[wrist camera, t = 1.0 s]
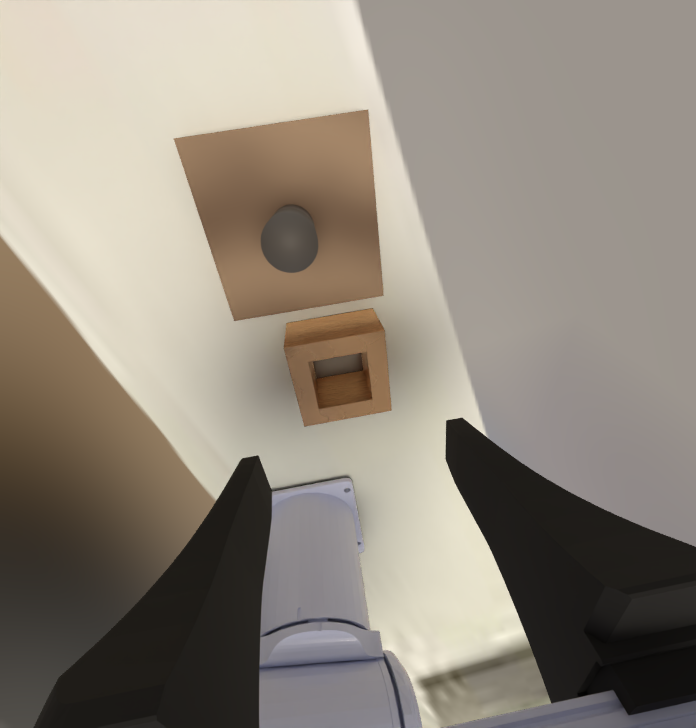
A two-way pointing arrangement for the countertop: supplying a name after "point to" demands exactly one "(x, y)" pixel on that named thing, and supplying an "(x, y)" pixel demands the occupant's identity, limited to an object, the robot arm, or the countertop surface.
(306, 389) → the collar
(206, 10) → the countertop surface
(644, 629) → the robot arm
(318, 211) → the peg board
